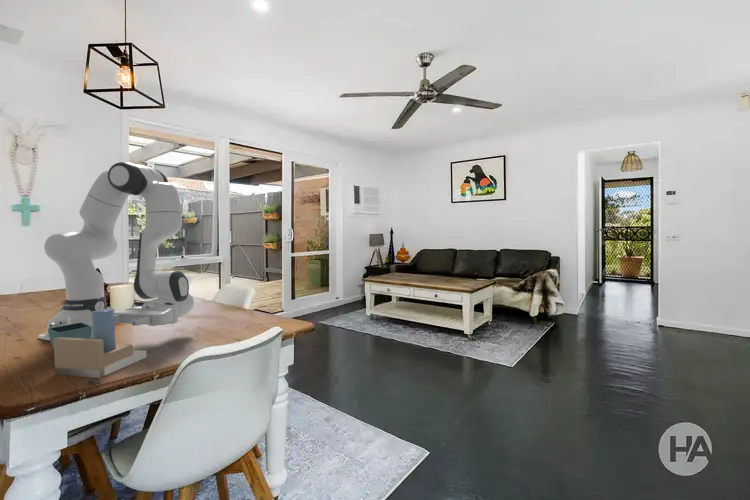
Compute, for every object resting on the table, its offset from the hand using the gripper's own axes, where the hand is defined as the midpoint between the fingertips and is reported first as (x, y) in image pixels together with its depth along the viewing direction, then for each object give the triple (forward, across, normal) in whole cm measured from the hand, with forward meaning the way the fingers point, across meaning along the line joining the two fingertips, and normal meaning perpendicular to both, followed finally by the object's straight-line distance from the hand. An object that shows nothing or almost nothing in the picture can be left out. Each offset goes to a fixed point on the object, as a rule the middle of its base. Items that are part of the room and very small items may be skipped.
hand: (120, 322), depth 111 cm
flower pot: (+1, -18, +11) cm, 21 cm away
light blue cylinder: (+6, 0, +9) cm, 11 cm away
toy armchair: (+6, 0, +11) cm, 13 cm away
